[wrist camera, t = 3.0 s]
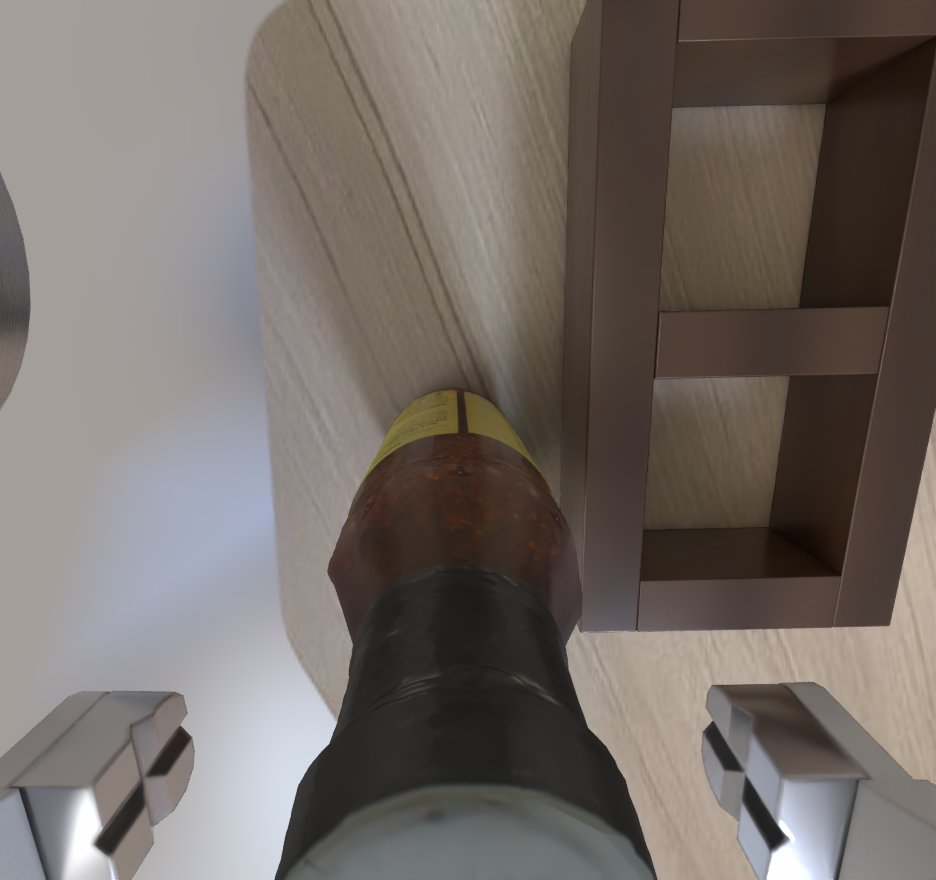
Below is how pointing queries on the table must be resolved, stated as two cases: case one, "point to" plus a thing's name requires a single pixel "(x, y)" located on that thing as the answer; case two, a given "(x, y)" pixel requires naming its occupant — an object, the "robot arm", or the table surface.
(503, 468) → the sauce bottle
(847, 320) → the hole block
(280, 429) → the table surface
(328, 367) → the table surface
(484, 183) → the table surface
